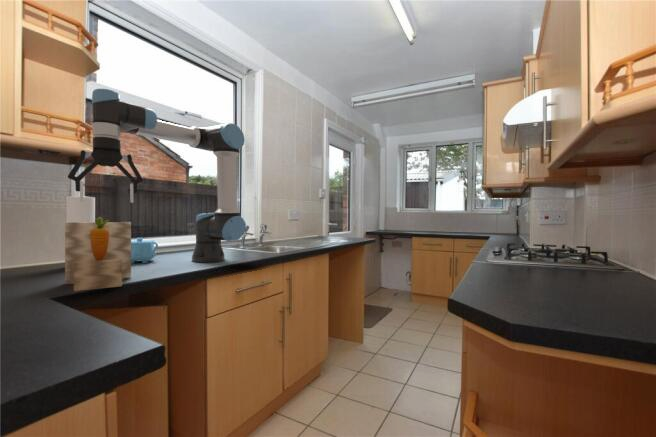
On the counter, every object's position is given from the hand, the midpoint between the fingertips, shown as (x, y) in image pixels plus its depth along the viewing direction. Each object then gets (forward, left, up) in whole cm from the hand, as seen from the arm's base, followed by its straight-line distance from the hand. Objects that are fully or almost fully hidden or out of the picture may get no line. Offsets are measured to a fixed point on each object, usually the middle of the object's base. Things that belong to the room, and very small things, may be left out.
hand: (107, 202), depth 104 cm
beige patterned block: (+2, +2, -27) cm, 27 cm away
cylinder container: (+9, -40, -27) cm, 49 cm away
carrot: (+2, +2, -20) cm, 20 cm away
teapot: (-12, -42, -27) cm, 51 cm away
